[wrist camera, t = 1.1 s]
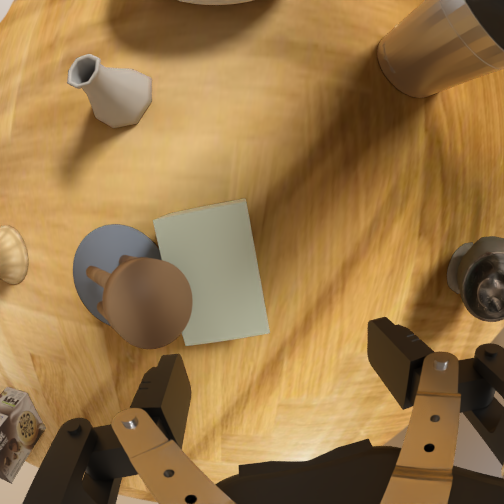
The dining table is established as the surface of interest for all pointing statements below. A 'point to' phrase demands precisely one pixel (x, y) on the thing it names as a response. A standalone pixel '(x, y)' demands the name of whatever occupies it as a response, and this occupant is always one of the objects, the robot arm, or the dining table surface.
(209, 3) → the serving bowl
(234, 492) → the robot arm
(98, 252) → the mat
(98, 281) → the stool
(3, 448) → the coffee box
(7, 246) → the hand bell
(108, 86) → the flask
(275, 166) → the dining table surface
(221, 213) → the box
